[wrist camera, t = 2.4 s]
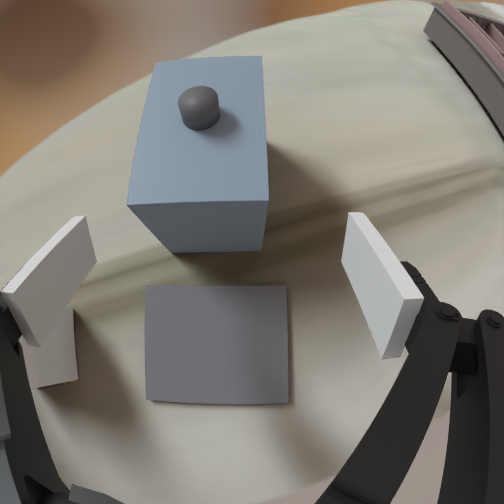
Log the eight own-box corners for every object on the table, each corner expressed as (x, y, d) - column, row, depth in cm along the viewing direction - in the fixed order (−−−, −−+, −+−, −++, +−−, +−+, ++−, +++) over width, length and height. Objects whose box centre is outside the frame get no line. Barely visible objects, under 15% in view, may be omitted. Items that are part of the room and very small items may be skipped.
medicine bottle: (27, 375, 24) (-56, 382, 12) (23, 308, 26) (-60, 290, 14) (79, 380, 24) (-5, 398, 12) (74, 306, 26) (-12, 287, 14)
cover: (170, 252, 27) (116, 193, 15) (180, 139, 30) (151, 48, 18) (261, 251, 27) (270, 187, 15) (258, 136, 30) (262, 40, 18)
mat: (148, 398, 24) (146, 399, 23) (147, 286, 26) (145, 285, 26) (287, 401, 24) (288, 402, 24) (285, 285, 27) (286, 284, 26)
